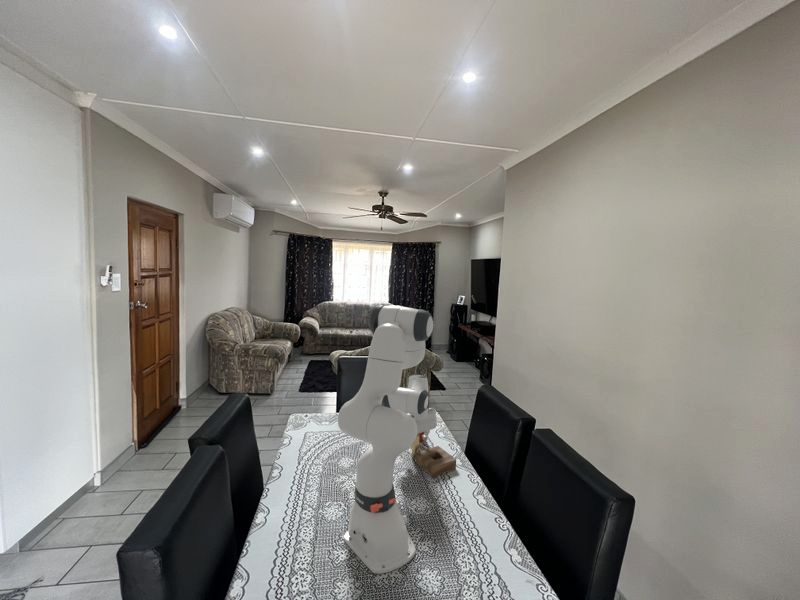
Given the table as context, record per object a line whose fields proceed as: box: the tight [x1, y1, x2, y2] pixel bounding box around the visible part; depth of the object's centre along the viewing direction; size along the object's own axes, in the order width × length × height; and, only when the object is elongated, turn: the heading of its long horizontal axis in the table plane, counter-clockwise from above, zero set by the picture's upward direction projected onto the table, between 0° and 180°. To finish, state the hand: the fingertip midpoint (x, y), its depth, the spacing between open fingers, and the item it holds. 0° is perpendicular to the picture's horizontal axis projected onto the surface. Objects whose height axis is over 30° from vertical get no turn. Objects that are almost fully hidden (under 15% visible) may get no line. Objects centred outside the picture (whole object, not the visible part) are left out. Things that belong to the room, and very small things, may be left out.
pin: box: [411, 434, 420, 460], centre depth 142 cm, size 3×3×10 cm
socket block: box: [414, 445, 457, 478], centre depth 136 cm, size 12×12×4 cm
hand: (416, 442), depth 142 cm, fingers open, 8 cm apart
